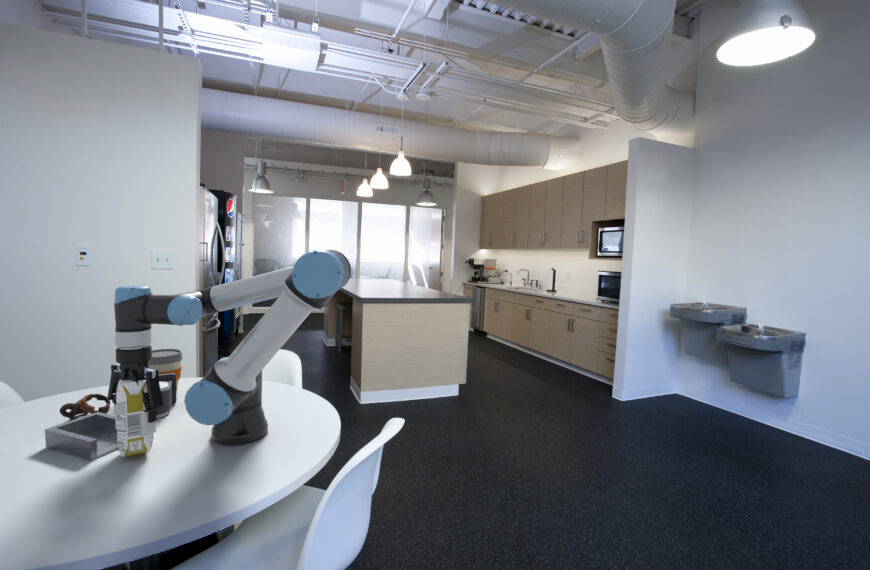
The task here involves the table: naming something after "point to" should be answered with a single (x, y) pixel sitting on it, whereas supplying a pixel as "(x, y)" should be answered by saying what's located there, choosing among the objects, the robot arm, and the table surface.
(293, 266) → the robot arm
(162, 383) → the wireless charger stand
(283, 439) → the table surface
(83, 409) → the brown ring with handle
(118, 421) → the juice carton
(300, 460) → the table surface
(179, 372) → the reusable coffee cup
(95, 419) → the dock
